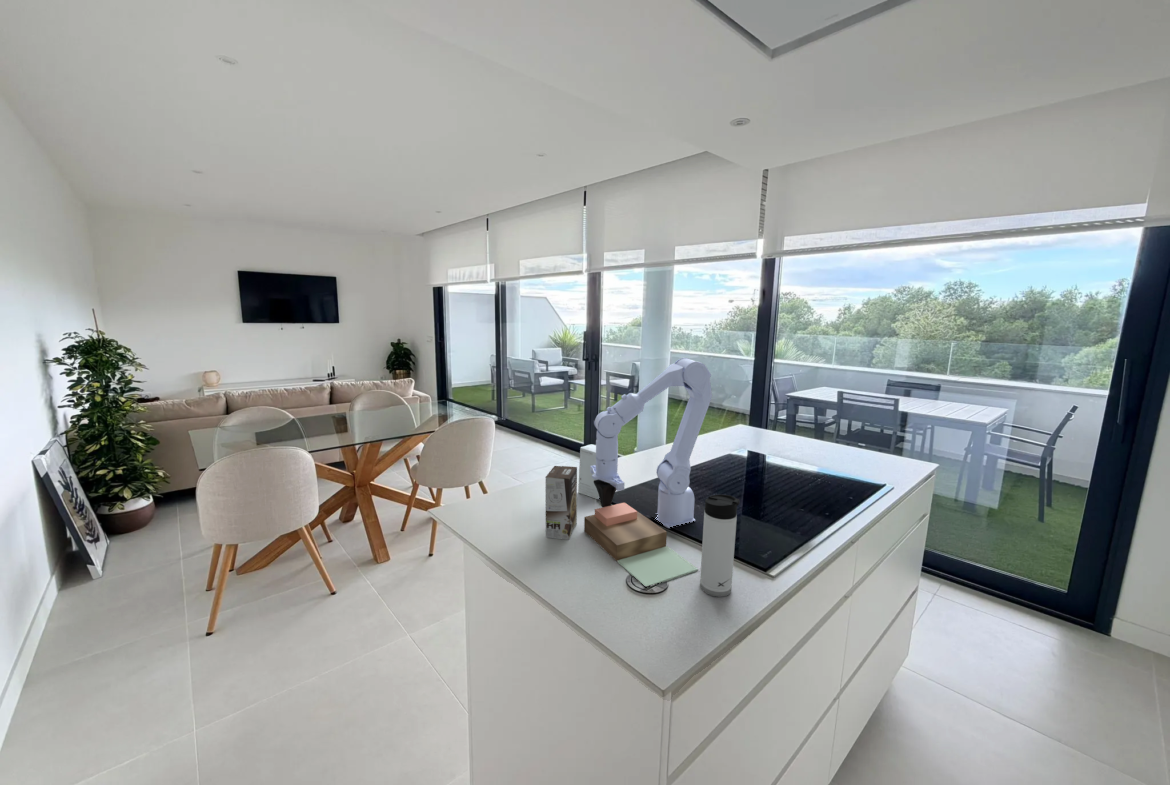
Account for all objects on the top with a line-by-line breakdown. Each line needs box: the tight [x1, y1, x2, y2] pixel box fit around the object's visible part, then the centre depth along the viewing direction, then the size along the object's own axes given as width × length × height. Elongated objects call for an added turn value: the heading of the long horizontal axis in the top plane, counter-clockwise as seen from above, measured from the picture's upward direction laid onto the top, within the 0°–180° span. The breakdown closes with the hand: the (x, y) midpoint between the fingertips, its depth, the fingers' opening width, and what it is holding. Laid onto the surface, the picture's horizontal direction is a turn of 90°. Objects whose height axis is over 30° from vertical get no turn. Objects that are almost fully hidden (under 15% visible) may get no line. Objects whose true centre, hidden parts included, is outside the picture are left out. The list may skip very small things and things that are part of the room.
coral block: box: [594, 502, 638, 526], centre depth 117 cm, size 9×6×2 cm, turn 118°
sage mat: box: [617, 545, 699, 586], centre depth 102 cm, size 14×11×1 cm
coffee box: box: [545, 465, 578, 541], centre depth 117 cm, size 9×6×16 cm
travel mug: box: [699, 494, 741, 598], centre depth 93 cm, size 6×7×20 cm
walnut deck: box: [583, 510, 668, 562], centre depth 114 cm, size 14×16×4 cm
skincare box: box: [577, 444, 600, 500], centre depth 140 cm, size 8×6×15 cm
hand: (606, 506), depth 121 cm, fingers closed
